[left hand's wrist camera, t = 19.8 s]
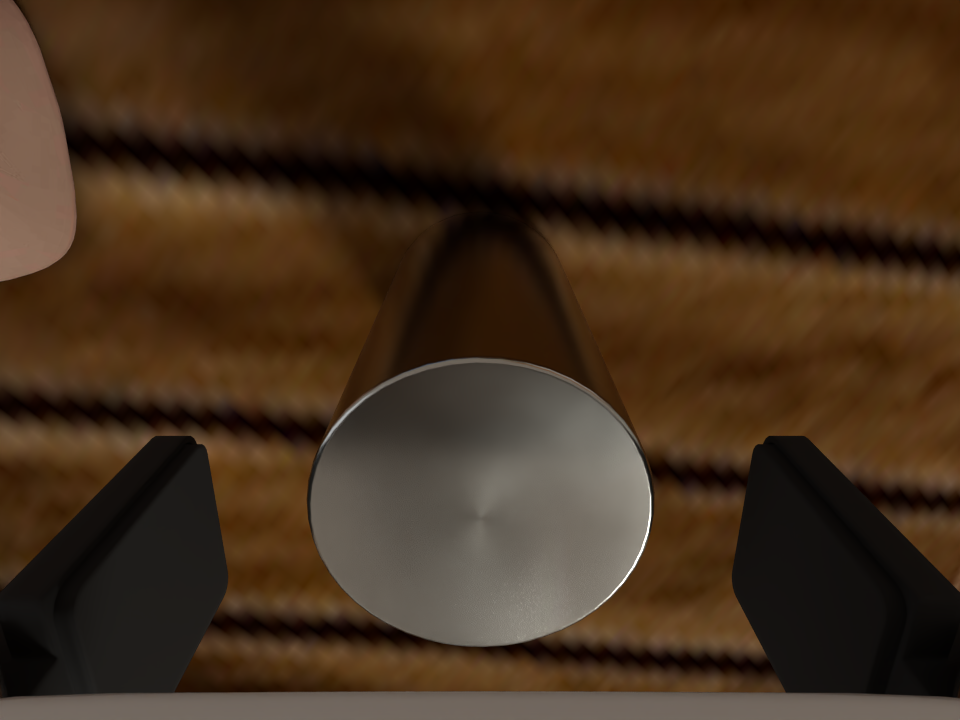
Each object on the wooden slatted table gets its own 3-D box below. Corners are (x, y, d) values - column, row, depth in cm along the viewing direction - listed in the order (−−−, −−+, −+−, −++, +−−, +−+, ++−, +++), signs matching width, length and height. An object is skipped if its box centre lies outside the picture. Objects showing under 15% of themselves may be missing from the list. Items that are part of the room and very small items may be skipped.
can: (583, 352, 21) (683, 609, 11) (425, 395, 22) (376, 677, 11) (542, 188, 19) (616, 313, 9) (368, 240, 20) (247, 414, 9)
